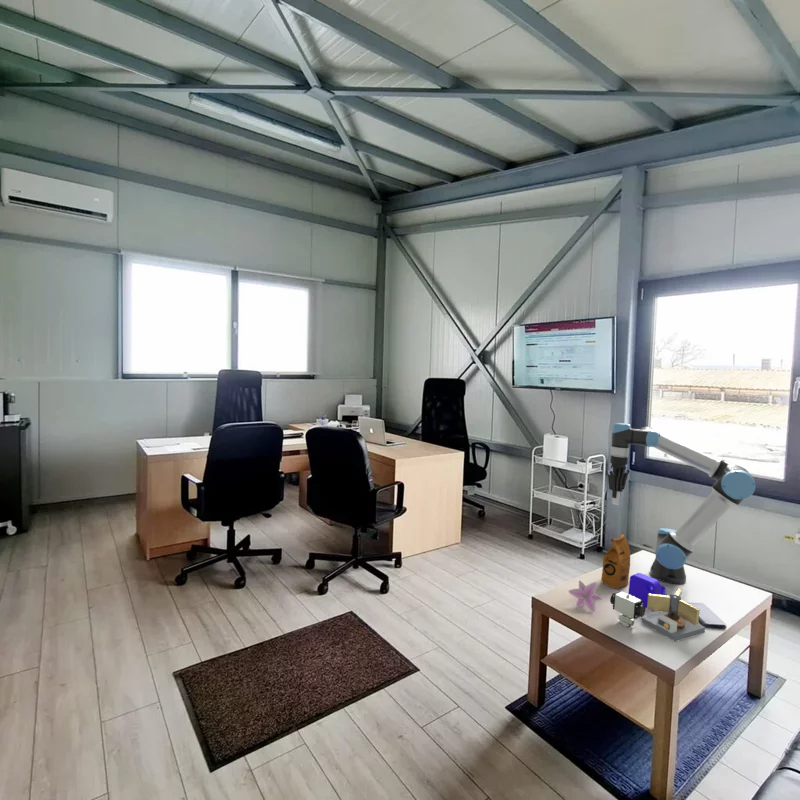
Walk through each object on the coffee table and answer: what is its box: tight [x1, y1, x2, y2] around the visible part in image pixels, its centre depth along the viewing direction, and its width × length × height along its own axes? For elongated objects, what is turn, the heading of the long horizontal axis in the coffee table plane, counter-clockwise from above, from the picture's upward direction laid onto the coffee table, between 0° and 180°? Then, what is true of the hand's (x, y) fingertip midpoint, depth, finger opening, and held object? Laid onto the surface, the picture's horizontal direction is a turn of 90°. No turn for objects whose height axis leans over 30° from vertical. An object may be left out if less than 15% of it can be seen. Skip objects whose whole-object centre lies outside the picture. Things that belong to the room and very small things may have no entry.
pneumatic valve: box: [609, 590, 646, 628], centre depth 184 cm, size 6×12×12 cm, turn 36°
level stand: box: [641, 611, 706, 642], centre depth 183 cm, size 18×14×6 cm
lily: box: [568, 579, 603, 613], centre depth 197 cm, size 12×12×10 cm
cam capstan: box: [646, 588, 700, 628], centre depth 183 cm, size 17×15×10 cm
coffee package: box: [600, 534, 631, 590], centre depth 218 cm, size 10×12×22 cm
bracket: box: [627, 572, 666, 612], centre depth 204 cm, size 18×11×12 cm, turn 124°
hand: (615, 504), depth 226 cm, fingers closed
